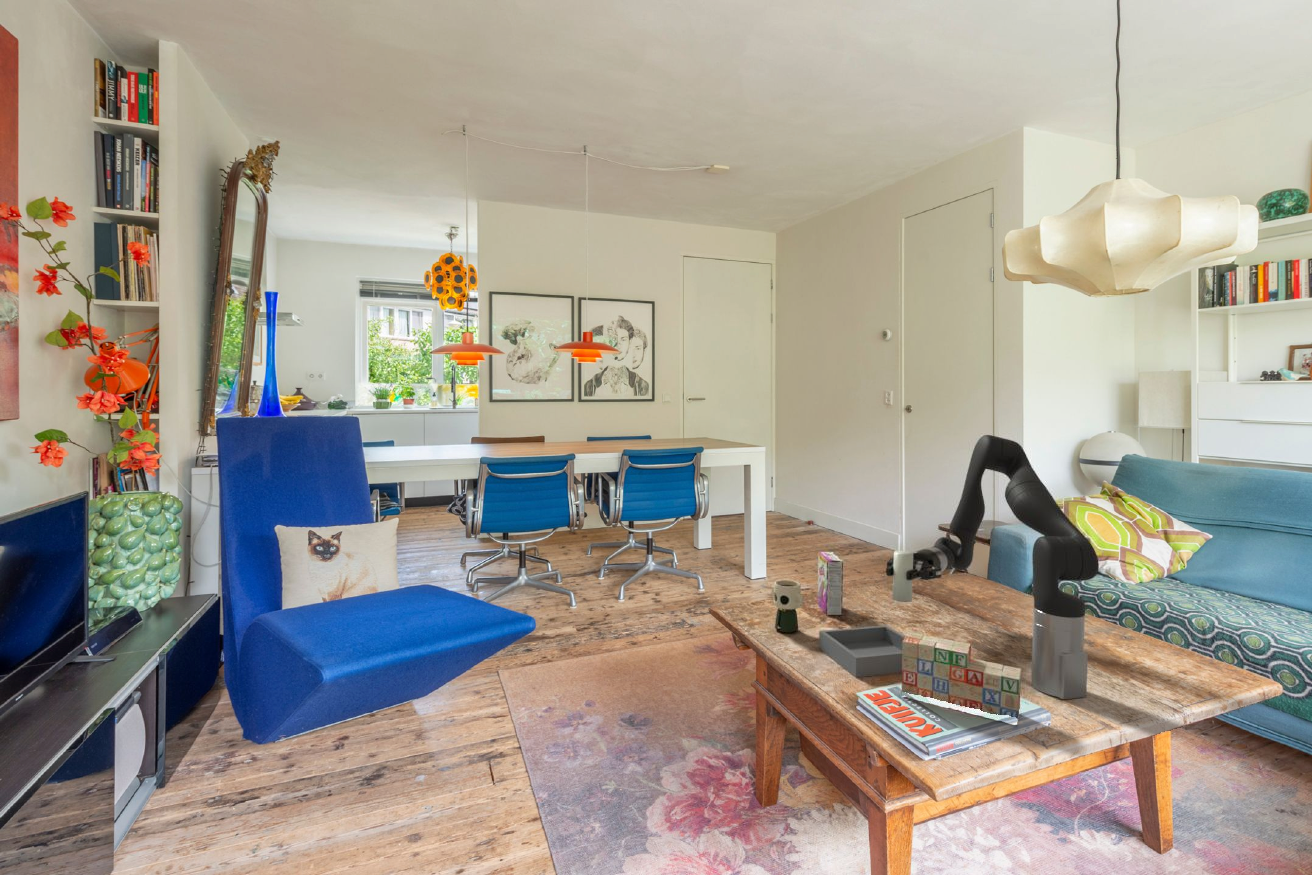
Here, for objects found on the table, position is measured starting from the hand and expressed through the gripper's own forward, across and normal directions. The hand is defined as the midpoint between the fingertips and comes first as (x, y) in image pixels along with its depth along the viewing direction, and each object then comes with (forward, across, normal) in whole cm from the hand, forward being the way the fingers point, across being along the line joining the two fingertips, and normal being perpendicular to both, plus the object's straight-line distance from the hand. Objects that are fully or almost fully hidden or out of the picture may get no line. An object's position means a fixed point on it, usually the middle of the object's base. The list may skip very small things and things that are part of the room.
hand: (898, 573), depth 155 cm
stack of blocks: (+19, +23, +19) cm, 36 cm away
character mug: (+11, -26, +19) cm, 34 cm away
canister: (-3, 0, +7) cm, 7 cm away
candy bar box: (-13, -27, +19) cm, 36 cm away
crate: (+11, -1, +19) cm, 22 cm away
